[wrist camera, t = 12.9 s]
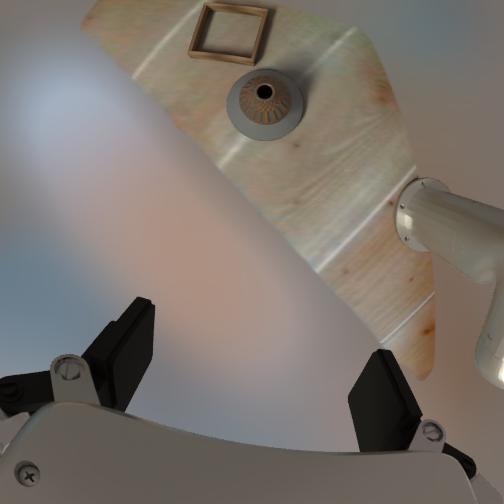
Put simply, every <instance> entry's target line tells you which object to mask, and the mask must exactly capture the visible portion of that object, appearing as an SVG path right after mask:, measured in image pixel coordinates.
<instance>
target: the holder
mask: <svg viewBox="0 0 504 504" xmlns="http://www.w3.org/2000/svg"><path fill="white" fill-rule="evenodd" d="M209 11H219V12H230V13H239V14H247V15H254V16H261V17H262V20H261V24H260V27H259V31H258V34H257V38H256V41H255V45H254V48H253V52H252V55H251V58H245V57H239V56H232V55H225V54H216V53H207V52H196V50H197V47H198V44H199V41H200V37H201V34H202V31H203V28H204V25H205V22H206V19H207V16H208V14H209ZM267 18H268V9H263V8H256V7H249V6H241V5H231V4H219V3H204V6H203V8H202V11H201V14H200V17H199V19H198V22H197V25H196V28H195V31H194V34H193V37H192V40H191V44H190V47H189V50H188V53H187V54H188V55H189V56H190V57H191V58H197V59H207V60H216V61H224V62H231V63H238V64H244V65H250V66H254V65H255V61H256V58H257V54H258V50H259V47H260V43H261V39H262V36H263V32H264V29H265V25H266V22H267Z"/></svg>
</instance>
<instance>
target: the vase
mask: <svg viewBox="0 0 504 504" xmlns="http://www.w3.org/2000/svg"><path fill="white" fill-rule="evenodd" d="M239 105H240V108H241V110H242V112H243V114H244V115H245V116H246V117H247V118H248V119H249V120H251V121H252V122H254V123H257V124H260V125H272V124H275V123H278V122H280V121H281V120H282V119H284V118H285V117H286V116H287V114H288V113H289V111H290V109H291V105H292V95H291V92H290V90H289V88H288V86H287V85H286V84H285V83H284V82H283V81H282V80H280V79H279V78H277V77H274V76H270V75H260V76H256V77H254V78H252V79H250V80H249V81H248V82H246V83H245V85H244V86H243V87H242V89H241V91H240V95H239Z"/></svg>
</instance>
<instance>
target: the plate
mask: <svg viewBox="0 0 504 504" xmlns="http://www.w3.org/2000/svg"><path fill="white" fill-rule="evenodd" d="M260 75H270V76H274V77H277V78H279V79H280V80H282V81H283V82H284V83H285V84H286V85H287V86H288V88H289V90H290V92H291V95H292V105H291V109H290V111H289V113H288V114H287V116H286V117H285V118H284V119H282V120H281V121H280V122H278V123H275V124H272V125H260V124H257V123H254V122H252V121H251V120H249V119H248V118H247V117H246V116H245V115H244V114H243V112H242V110H241V108H240V105H239V95H240V91H241V89H242V87H243V86H244V85H245V83H246V82H248V81H249V80H250V79H252V78H254V77H256V76H260ZM227 112H228V116H229V118H230V120H231V122H232V124H233V125H234V126H235V128H236V129H237V130H238V131H240V132H241V133H242V134H244V135H245V136H247V137H249V138H251V139H255V140H260V141H272V140H276V139H279V138H282V137H284V136H286V135H287V134H289V133H290V132H291V131H292V130H293V129H294V128H295V127H296V125H297V124H298V122H299V121H300V119H301V116H302V112H303V99H302V95H301V93H300V90H299V89H298V87H297V86H296V84H295V83H294V82H293V81H292V80H291V79H290V78H288V77H287V76H285V75H283V74H281V73H279V72H276V71H271V70H258V71H253V72H250V73H248V74H246V75H244V76H242V77H241V78H240V79H239V80H237V81H236V82H235V84H234V85H233V86H232V88H231V90H230V92H229V94H228V97H227Z"/></svg>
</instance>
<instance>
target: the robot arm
mask: <svg viewBox="0 0 504 504" xmlns="http://www.w3.org/2000/svg"><path fill="white" fill-rule="evenodd" d="M400 205H401V207H400ZM394 221H395V227H396V230H397V233H398V235H399V237H400V239H401V240H402V241H403V243H404V244H405V245H407V246H408V247H409V248H411V249H413V250H415V251H418V252H429V251H431V252H432V253H434V254H435V255H437V256H438V257H440V258H441V259H442V260H444V261H445V262H446V263H448V264H449V265H451V266H452V267H453V268H455V269H456V270H457V271H459V272H460V273H461V274H463V275H464V276H466V277H467V278H468V279H470V280H472V281H474V282H477V283H490V282H494V281H496V285H495V289H494V292H493V297H492V300H491V304H490V307H489V310H488V313H487V315H486V318H485V321H484V324H483V326H482V329H481V332H480V335H479V338H478V341H477V343H476V347H475V353H474V359H475V364H476V366H477V369H478V370H479V372H480V373H481V374H482V375H483V376H484V378H486V379H487V380H488V381H490V382H491V383H493V384H494V385H496V386H497V387H500V388H502V389H504V210H502V209H499V208H496V207H493V206H490V205H487V204H483V203H481V202H478V201H474V200H471V199H468V198H465V197H462V196H458V195H455V194H452V193H451V192H450V190H449V189H448V187H447V186H446V185H444V184H443V183H442V182H440V181H439V180H436V179H432V178H420V179H417V180H415V181H413V182H411V183H410V184H409V185H408V186H406V187H405V189H404V190H403V191H402V192H401V194H400V196H399V198H398V200H397V203H396V207H395V213H394ZM405 237H406V238H405ZM154 318H155V305H153V304H152V303H151V300H149V299H145V298H142V297H137V298H136V299H135V300H134V301H133V302H132V303H131V305H130V306H129V307H128V308H127V309H126V311H125V312H124V313H123V314H122V315H121V316H120V318H119V319H118V320H117V321H111V322H110V323H109V324H108V325H107V326H106V327H105V328H104V329H103V331H102V332H101V333H100V334H99V335H98V337H97V338H96V339H95V340H94V341H93V343H92V344H91V345H90V346H89V347H88V349H87V350H86V351H85V352H84V354H83V355H82V356H81V357H80V356H77V355H73V354H65V355H61V356H59V357H57V358H55V359H54V361H52V363H51V365H50V370H49V371H42V372H35V373H28V374H20V375H12V376H6V377H3V378H1V379H0V504H502V497H501V495H500V493H499V492H498V491H497V490H496V489H495V488H494V487H493V486H492V485H491V484H490V483H489V482H488V481H487V480H486V479H485V478H484V477H483V476H482V475H480V474H477V475H476V465H475V462H474V461H473V459H472V458H470V457H469V456H467V455H465V454H464V453H462V452H461V451H459V450H457V449H456V448H454V447H452V446H451V445H449V444H447V443H445V440H446V432H445V430H444V428H443V427H442V426H441V425H440V424H439V423H438V422H436V421H434V420H430V419H427V420H424V421H421V419H420V418H421V416H422V415H423V414H422V412H421V410H420V408H419V406H418V404H417V401H416V399H415V397H414V395H413V393H412V391H411V389H410V387H409V385H408V383H407V381H406V379H405V377H404V375H403V373H402V371H401V369H400V367H399V365H398V363H397V361H396V359H395V357H394V355H393V353H392V352H391V350H385V349H378V350H377V351H376V352H373V353H372V355H371V357H370V359H369V360H368V362H367V364H366V366H365V368H364V369H363V371H362V373H361V375H360V376H359V378H358V380H357V381H356V383H355V385H354V387H353V388H352V390H351V391H350V393H349V395H348V403H349V407H350V411H351V415H352V419H353V423H354V428H355V432H356V436H357V440H358V445H359V449H360V452H321V451H305V450H292V449H282V448H274V447H266V446H258V445H252V444H246V443H240V442H234V441H229V440H224V439H219V438H214V437H209V436H205V435H201V434H196V433H192V432H188V431H185V430H181V429H177V428H174V427H169V426H166V425H163V424H159V423H156V422H153V421H149V420H146V419H143V418H140V417H137V416H134V415H130V414H127V413H124V412H125V410H126V408H127V406H128V405H129V403H130V401H131V399H132V397H133V395H134V393H135V391H136V389H137V387H138V385H139V383H140V381H141V379H142V377H143V375H144V374H145V372H146V370H147V368H148V366H149V364H150V362H151V360H152V356H153V336H154ZM8 443H10V444H9V446H8V447H7V448H6V450H5V452H4V453H3V455H2V450H3V448H4V447H5V446H6V445H7V444H8Z"/></svg>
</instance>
